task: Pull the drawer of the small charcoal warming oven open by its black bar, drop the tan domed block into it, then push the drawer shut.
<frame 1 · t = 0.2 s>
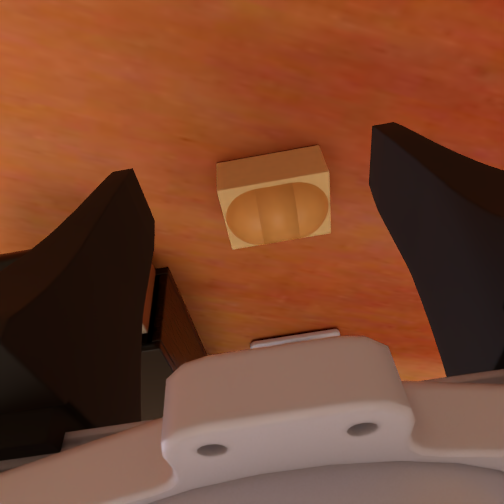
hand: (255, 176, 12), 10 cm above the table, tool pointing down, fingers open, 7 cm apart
tan domed block: (271, 185, 25), on the table
warmer: (123, 331, 34), on the table
drawer: (90, 334, 28), point 3 cm above the table, slide at 0.6 cm
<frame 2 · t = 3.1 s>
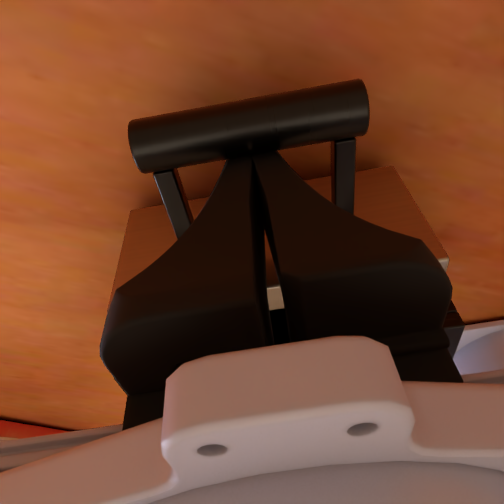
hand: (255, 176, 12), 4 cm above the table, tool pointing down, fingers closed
cracker box: (8, 431, 31), on the table
warmer: (280, 310, 23), on the table
drawer: (277, 297, 17), point 3 cm above the table, slide at 1.2 cm
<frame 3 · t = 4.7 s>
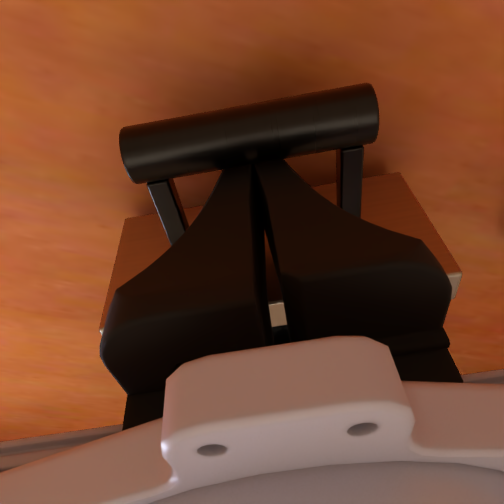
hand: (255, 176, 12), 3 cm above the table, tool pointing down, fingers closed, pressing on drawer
drawer: (278, 309, 16), point 3 cm above the table, slide at 7.3 cm, touching gripper
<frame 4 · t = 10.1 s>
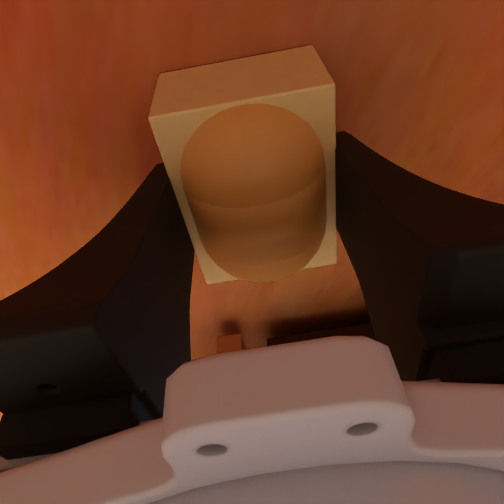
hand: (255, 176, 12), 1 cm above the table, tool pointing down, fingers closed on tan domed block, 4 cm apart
tan domed block: (251, 152, 13), on the table, touching gripper
drawer: (309, 425, 21), point 3 cm above the table, slide at 7.3 cm
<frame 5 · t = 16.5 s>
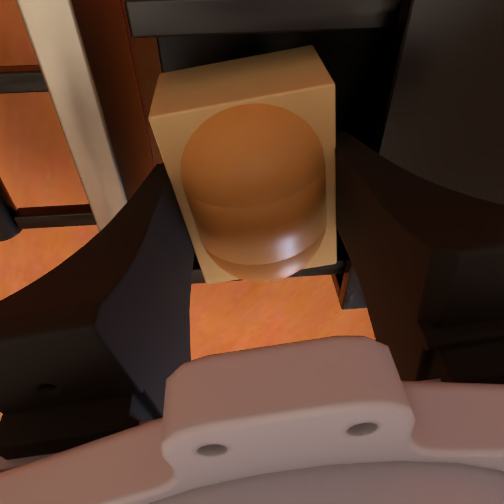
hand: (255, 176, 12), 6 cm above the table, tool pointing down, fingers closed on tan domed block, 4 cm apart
tan domed block: (251, 152, 13), point 5 cm above the table, touching gripper
warmer: (476, 86, 17), on the table
drawer: (206, 138, 14), point 3 cm above the table, slide at 7.3 cm
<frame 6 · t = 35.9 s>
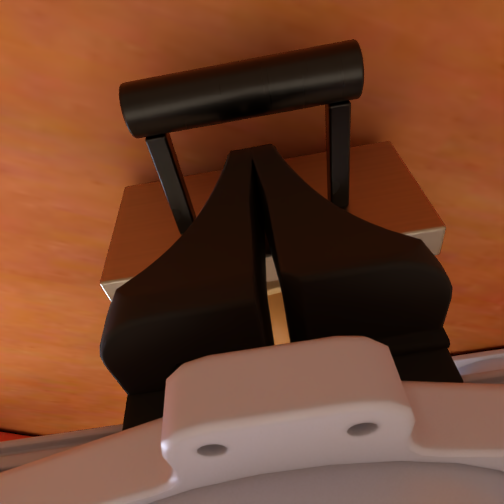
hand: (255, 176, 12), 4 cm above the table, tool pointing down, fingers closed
tan domed block: (273, 273, 19), point 2 cm above the table, touching drawer
drawer: (273, 275, 16), point 3 cm above the table, slide at 6.6 cm, touching tan domed block
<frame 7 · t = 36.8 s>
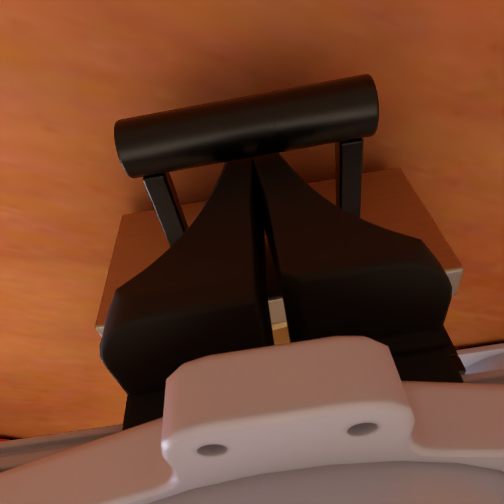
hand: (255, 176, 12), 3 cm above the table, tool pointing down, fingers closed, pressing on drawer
tan domed block: (277, 301, 18), point 2 cm above the table, touching drawer
drawer: (277, 306, 16), point 3 cm above the table, slide at 3.1 cm, touching tan domed block, gripper
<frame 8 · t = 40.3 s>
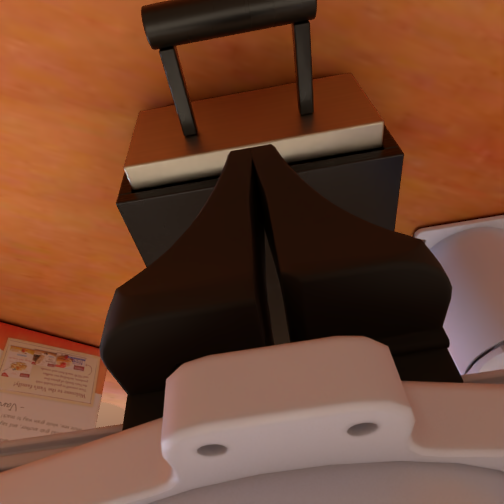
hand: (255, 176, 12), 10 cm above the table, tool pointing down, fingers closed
cracker box: (18, 342, 34), on the table
warmer: (262, 205, 26), on the table
drawer: (258, 184, 20), point 3 cm above the table, slide at -0.1 cm, touching tan domed block, warmer
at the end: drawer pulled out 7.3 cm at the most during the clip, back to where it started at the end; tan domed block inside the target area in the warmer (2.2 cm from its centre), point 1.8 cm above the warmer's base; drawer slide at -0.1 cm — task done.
